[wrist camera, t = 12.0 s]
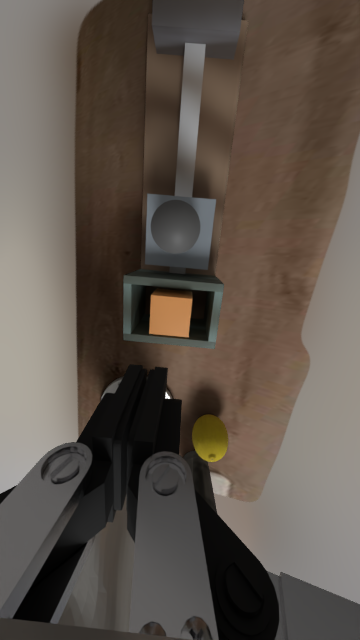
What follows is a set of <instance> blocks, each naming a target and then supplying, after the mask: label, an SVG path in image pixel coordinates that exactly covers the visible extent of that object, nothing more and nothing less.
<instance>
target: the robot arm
mask: <svg viewBox="0 0 360 640" xmlns="http://www.w3.org/2000/svg"><path fill="white" fill-rule="evenodd" d="M167 371H168V368H163V367H155V370H150V372H149V375H148V377H147V369H143V366H142V365H131V364H130V365H129V367H128V369H127V371H126V373H125V375H124V377H121V378H118V379H116V380H115V381H113V382H112V383H111V384H110V385H109V386H108V387H107V388H106V390H105V391H104V393H103V395H102V397H101V401H100V403H99V405H98V406H97V408H96V410H95V411H94V413H93V415H92V416H91V418H90V420H89V422H88V423H87V425H86V427H85V428H84V430H83V432H82V433H81V435H80V437H79V438H78V440H77V442H72V443H65V444H63V445H60V446H57V447H55V448H54V449H52V450H51V451H49V452H48V453H47V454H45V455H44V456H43V457H42V458H41V459H40V461H39V462H38V463H37V464H36V465H35V466H34V467H33V468H32V469H31V470H30V472H29V473H28V474H27V475H26V476H25V477H24V478H23V480H22V481H21V482H20V483H19V484H18V485H16V486H14V487H13V488H11V489H9V490H7V491H5V492H3V493H1V494H0V640H360V604H358V603H355V602H353V601H350V600H348V599H345V598H343V597H341V596H338V595H336V594H333V593H331V592H329V591H326V590H324V589H321V588H319V587H316V586H314V585H311V584H309V583H307V582H304V581H302V580H300V579H297V578H294V577H292V576H290V575H287V574H285V573H283V572H281V573H280V576H278V575H275V574H273V573H271V572H268V571H266V570H265V568H264V567H263V565H262V564H261V563H260V561H259V560H258V559H257V558H256V557H255V556H254V555H253V553H252V552H251V551H250V550H249V549H248V548H247V547H246V546H245V544H244V543H243V542H242V541H241V540H240V539H239V538H238V537H237V536H236V534H235V533H234V532H233V531H232V530H231V529H230V528H229V527H228V526H227V524H226V523H225V522H224V521H223V520H222V519H221V518H220V517H219V516H218V514H217V513H216V512H215V511H214V510H213V509H212V508H211V507H210V505H209V504H208V503H207V502H206V501H205V500H204V499H203V498H202V496H201V495H200V494H199V493H198V492H197V491H196V490H195V489H194V485H193V478H192V473H191V470H190V467H189V465H188V463H187V462H186V460H185V459H184V458H182V457H181V456H180V455H179V445H180V425H181V405H182V400H179V399H173V398H172V396H171V394H170V392H169V391H168V390H167V389H166V385H167Z"/></svg>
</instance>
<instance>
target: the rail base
mask: <svg viewBox="0 0 360 640" xmlns="http://www.w3.org/2000/svg"><path fill="white" fill-rule="evenodd" d="M243 4H244V0H153V7H152V14H151V13H148V37H147V71H146V105H145V140H144V174H143V208H142V242H141V269H139V270H137V271H134V272H131V273H129V274H126V275H124V297H123V340H127V341H137V342H148V343H158V344H169V345H179V346H190V347H201V348H211V349H215V343H216V336H217V330H218V323H219V316H220V309H221V302H222V295H223V288H224V284H223V283H222V282H221V281H220V280H219V279H218V278H217V277H216V276H215V272H216V264H217V257H218V249H219V242H220V234H221V226H222V219H223V211H224V203H225V196H226V188H227V181H228V173H229V165H230V158H231V150H232V142H233V135H234V127H235V120H236V112H237V104H238V97H239V89H240V81H241V74H242V66H243V59H244V51H245V43H246V36H247V28H248V21H245V20H242V12H243ZM147 194H158V195H170V196H181V197H193V198H205V199H216V205H215V213H214V222H213V230H212V238H211V247H210V255H209V263H208V270H203V269H192V268H181V267H170V266H159V265H148V264H145V251H146V222H147ZM157 288H158V289H169V290H180V291H191V292H192V308H191V317H190V327H189V337H179V336H168V335H158V334H149V329H150V307H151V295H152V293H153V292H154V291H155V290H156V289H157Z"/></svg>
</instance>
